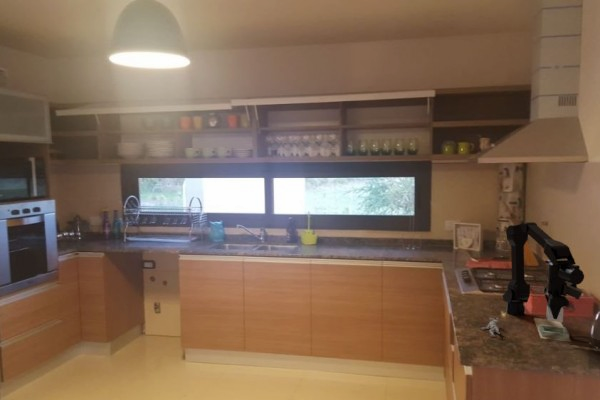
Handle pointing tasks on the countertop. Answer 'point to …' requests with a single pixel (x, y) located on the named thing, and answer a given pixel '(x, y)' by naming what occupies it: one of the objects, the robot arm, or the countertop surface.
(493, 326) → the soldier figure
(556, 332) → the chassis
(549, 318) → the engine block
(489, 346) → the countertop surface
